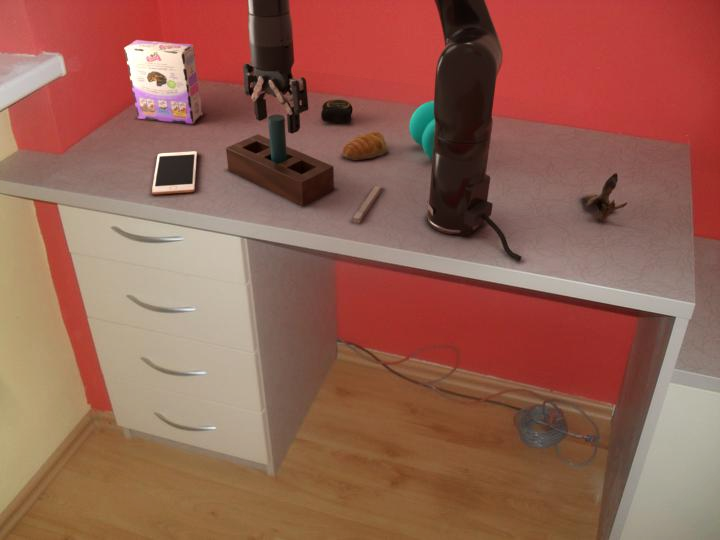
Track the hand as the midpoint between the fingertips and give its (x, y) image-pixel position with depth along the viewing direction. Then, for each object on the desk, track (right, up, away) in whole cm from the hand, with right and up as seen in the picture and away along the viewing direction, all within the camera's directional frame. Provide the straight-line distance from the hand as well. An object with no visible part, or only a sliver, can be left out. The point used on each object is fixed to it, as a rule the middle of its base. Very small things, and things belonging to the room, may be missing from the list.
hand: (277, 125), depth 130 cm
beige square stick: (+17, -15, -1) cm, 23 cm away
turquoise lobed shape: (+31, -2, +17) cm, 36 cm away
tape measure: (+10, +7, +29) cm, 32 cm away
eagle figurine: (+59, -16, -1) cm, 61 cm away
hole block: (0, -9, +7) cm, 11 cm away
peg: (0, -9, +7) cm, 11 cm away
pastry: (+16, -3, +16) cm, 23 cm away
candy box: (-28, +8, +30) cm, 42 cm away
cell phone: (-21, -8, +8) cm, 24 cm away
